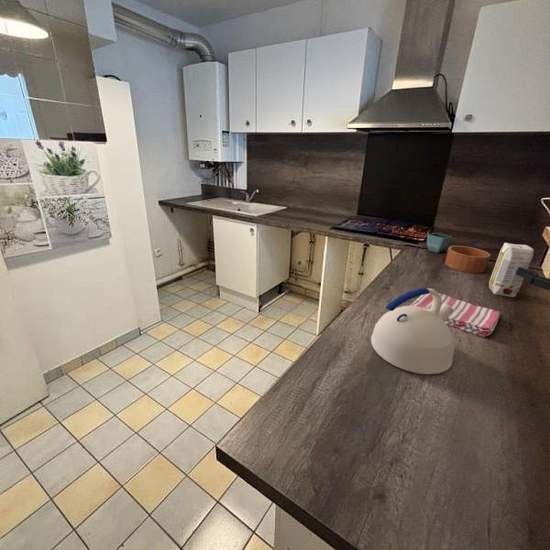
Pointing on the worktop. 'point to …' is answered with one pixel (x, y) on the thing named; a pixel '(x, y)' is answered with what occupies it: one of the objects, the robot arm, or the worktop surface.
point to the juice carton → (510, 269)
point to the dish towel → (464, 314)
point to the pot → (467, 259)
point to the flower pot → (437, 242)
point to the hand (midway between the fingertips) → (536, 270)
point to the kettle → (415, 335)
